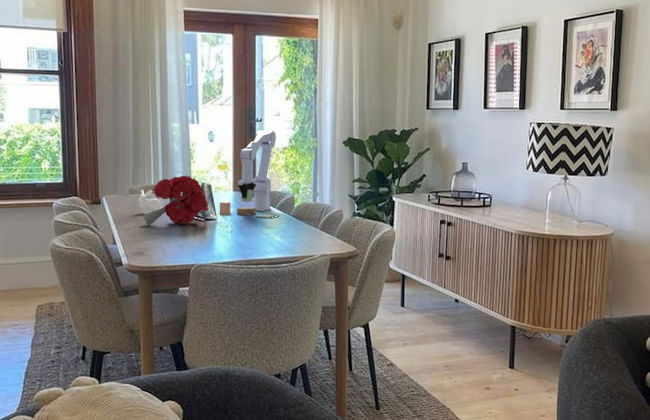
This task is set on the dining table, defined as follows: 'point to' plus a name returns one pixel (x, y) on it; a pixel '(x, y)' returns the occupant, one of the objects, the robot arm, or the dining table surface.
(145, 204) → the rabbit
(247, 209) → the walnut slab
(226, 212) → the terracotta block
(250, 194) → the sage block
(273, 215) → the card
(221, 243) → the dining table surface
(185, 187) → the bouquet
